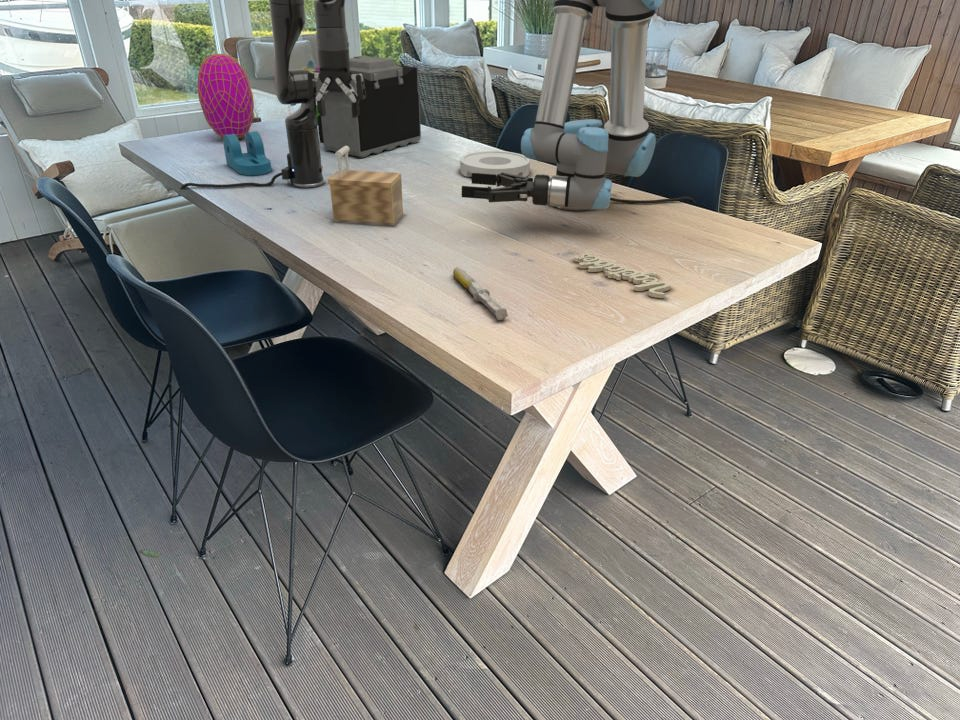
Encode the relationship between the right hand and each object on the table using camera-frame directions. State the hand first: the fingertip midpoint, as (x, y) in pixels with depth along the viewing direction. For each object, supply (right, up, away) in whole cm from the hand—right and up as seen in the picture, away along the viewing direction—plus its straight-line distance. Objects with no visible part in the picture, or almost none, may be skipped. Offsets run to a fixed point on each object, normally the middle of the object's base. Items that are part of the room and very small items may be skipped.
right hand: (466, 184), depth 177 cm
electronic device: (-37, +35, +81) cm, 96 cm away
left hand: (-33, +17, -2) cm, 37 cm away
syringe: (+3, -32, -32) cm, 45 cm away
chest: (-27, -7, +11) cm, 30 cm away
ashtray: (+8, +17, +52) cm, 56 cm away
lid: (-27, +2, +5) cm, 28 cm away
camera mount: (-73, +19, +52) cm, 92 cm away
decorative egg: (-92, +40, +88) cm, 134 cm away
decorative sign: (+36, -26, -21) cm, 49 cm away
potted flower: (-66, +55, +115) cm, 144 cm away
